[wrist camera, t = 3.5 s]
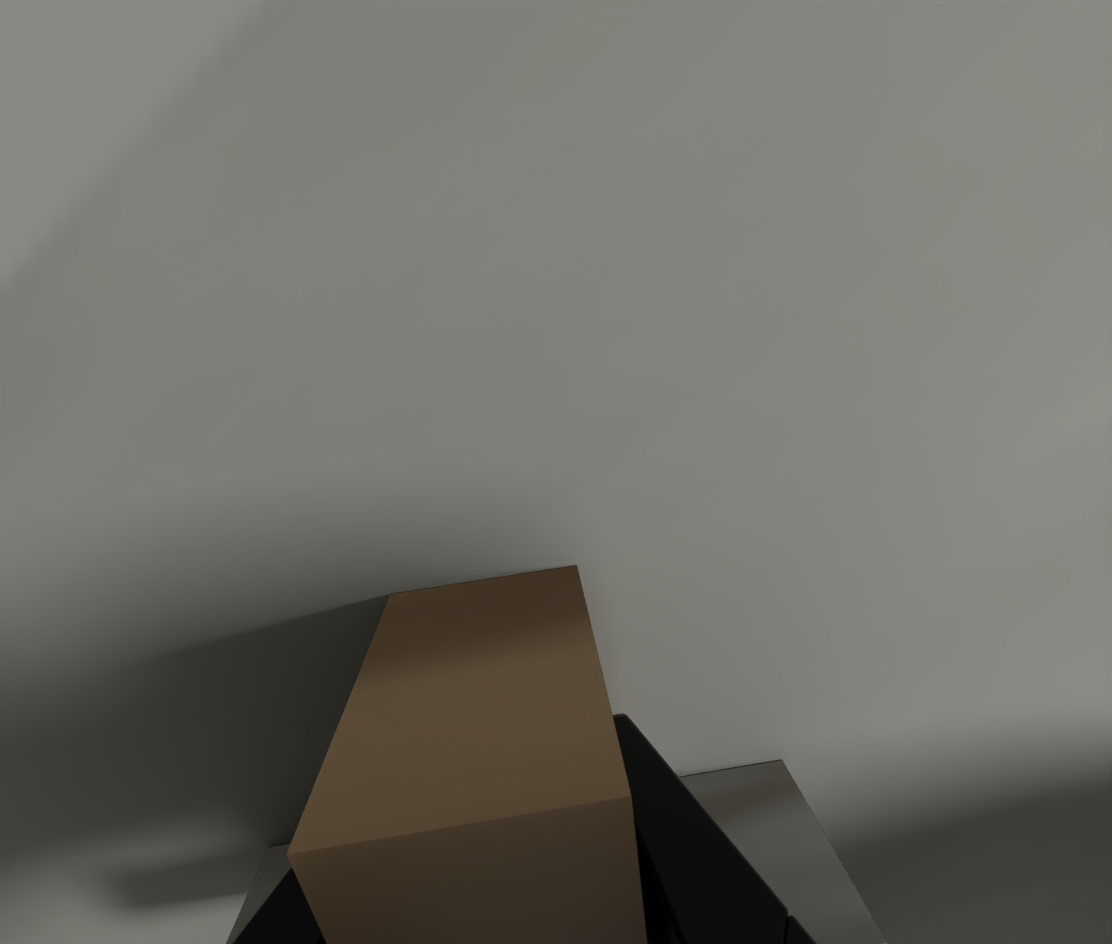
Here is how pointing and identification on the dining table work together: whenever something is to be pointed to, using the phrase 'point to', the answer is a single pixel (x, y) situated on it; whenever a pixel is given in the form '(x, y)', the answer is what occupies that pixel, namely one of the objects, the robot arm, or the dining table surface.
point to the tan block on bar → (513, 790)
